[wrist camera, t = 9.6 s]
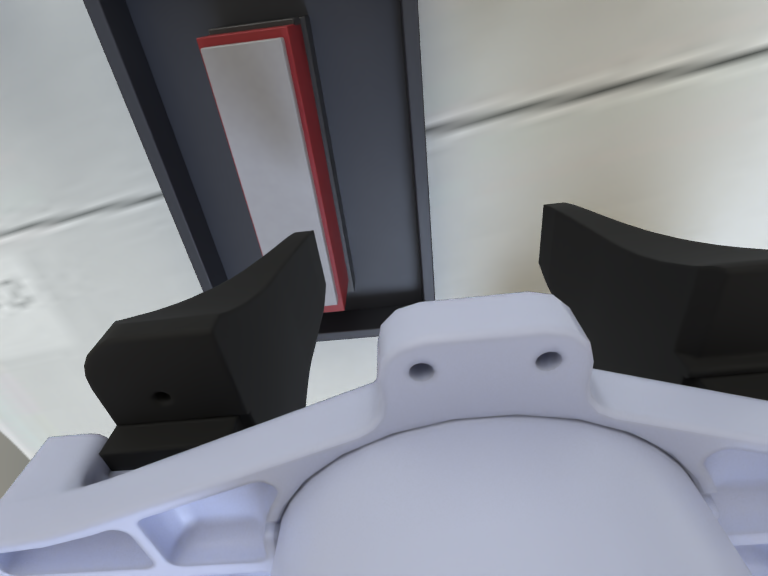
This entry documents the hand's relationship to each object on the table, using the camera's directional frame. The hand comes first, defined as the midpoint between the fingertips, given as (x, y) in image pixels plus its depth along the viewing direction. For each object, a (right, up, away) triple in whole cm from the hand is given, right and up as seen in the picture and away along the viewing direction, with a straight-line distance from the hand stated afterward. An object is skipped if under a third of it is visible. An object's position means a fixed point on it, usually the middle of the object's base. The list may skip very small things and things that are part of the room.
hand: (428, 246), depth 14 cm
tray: (-6, +5, +8) cm, 11 cm away
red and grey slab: (-6, +4, +8) cm, 10 cm away
